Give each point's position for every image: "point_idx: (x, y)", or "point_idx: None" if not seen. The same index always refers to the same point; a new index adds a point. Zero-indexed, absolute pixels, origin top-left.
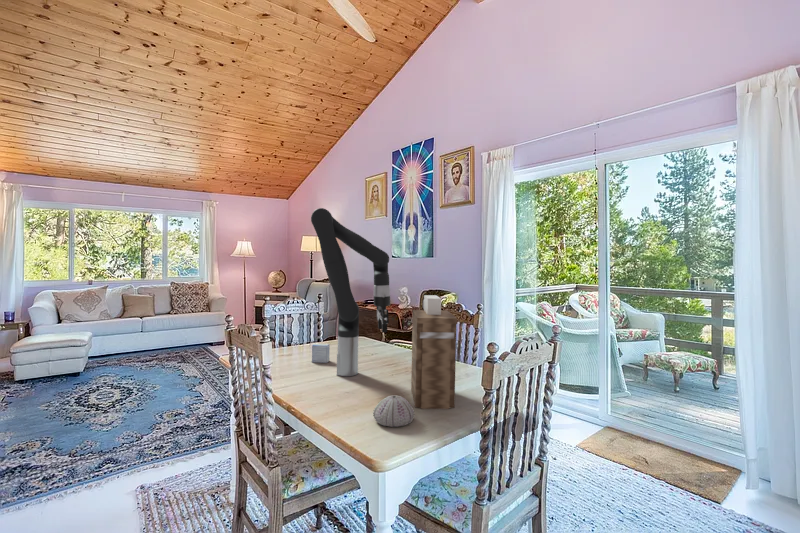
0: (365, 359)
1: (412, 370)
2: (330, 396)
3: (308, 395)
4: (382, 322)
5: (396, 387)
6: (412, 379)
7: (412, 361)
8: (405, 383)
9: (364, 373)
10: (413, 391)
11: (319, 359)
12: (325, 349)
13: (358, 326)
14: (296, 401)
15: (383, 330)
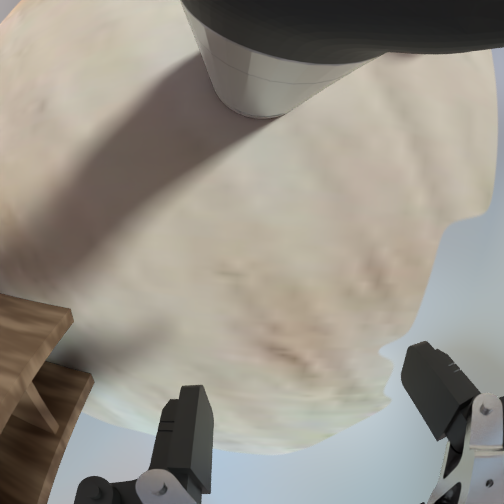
0: (453, 184)
1: (12, 343)
2: (24, 69)
3: (45, 12)
4: (135, 490)
5: (84, 271)
6: (21, 327)
7: (2, 362)
8: (125, 305)
9: (258, 150)
10: (8, 308)
11: None
12: None
13: (404, 33)
14: (21, 9)
15: (177, 406)
